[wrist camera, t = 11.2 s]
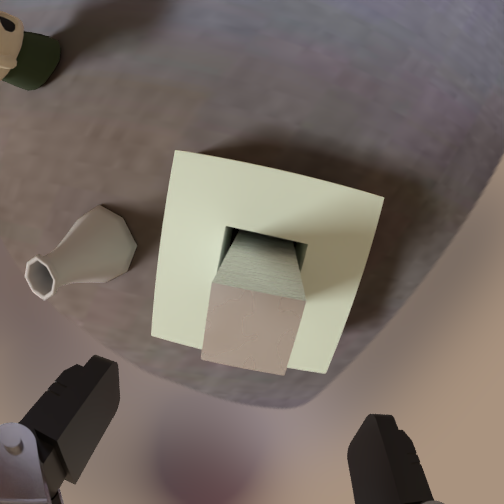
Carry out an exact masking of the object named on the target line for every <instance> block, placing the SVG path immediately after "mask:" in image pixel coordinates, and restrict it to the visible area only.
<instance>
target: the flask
mask: <svg viewBox="0 0 504 504" xmlns="http://www.w3.org/2000/svg"><path fill="white" fill-rule="evenodd" d="M136 247H137V245H136V243H135V241H134V239H133V237H132V235H131V233H130V231H129V229H128V227H127V225H126V223H125V221H124V219H123V218H122V217H120V216H119V215H117V214H115V213H113V212H111V211H110V210H108V209H106V208H104V207H102V206H101V205H98V206H96V207H95V208H93V209H92V210H90V211H89V212H87V213H86V214H85V215H83V216H82V217H80V218H79V219H78V220H77V221H76V223H75V224H74V225H73V227H72V228H71V229H70V231H69V232H68V234H67V235H66V236H65V237H64V239H63V240H62V241H61V242H60V244H59V245H58V246H57V248H56V249H55V250H53V251H52V252H51V253H49V254H47V255H45V256H42V255H40V254H38V255H36V256H35V257H33V258H32V259H31V260H30V261H28V262H27V265H26V272H25V278H26V280H27V282H28V284H29V286H30V288H31V290H32V292H33V293H35V294H36V295H37V296H39V297H40V298H41V299H43V300H46V299H48V298H50V297H51V296H53V295H55V294H56V293H57V289H58V287H60V286H63V285H67V284H70V283H83V282H100V283H103V282H108V281H110V280H112V279H114V278H116V277H118V276H120V275H122V274H124V273H126V272H127V271H128V268H129V266H130V263H131V260H132V258H133V255H134V252H135V250H136Z"/></svg>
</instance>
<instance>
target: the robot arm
mask: <svg viewBox="0 0 504 504" xmlns="http://www.w3.org/2000/svg"><path fill="white" fill-rule="evenodd" d="M119 401H120V390H119V372H118V364H117V362H114V361H111V360H109V359H106V358H103V357H100V356H97V355H94V356H93V357H91V359H90V360H89V361H88V362H87V363H86V364H85V366H84V367H83V366H80V365H78V364H76V365H74V366H72V367H70V368H69V369H67V370H64V371H63V372H62V373H61V375H60V376H59V377H58V378H57V379H56V380H55V383H53V384H52V385H51V386H50V387H49V388H48V391H46V392H45V393H44V394H43V395H42V396H41V397H40V399H39V400H38V401H37V402H36V403H35V405H34V406H33V407H32V408H31V409H30V410H29V412H28V413H27V414H26V415H25V417H24V418H23V419H22V420H21V421H20V422H19V423H5V424H2V425H0V504H64V503H63V499H62V495H61V492H60V489H59V488H60V486H61V484H62V482H63V481H64V479H65V480H67V481H69V482H71V483H73V484H76V482H77V481H78V479H79V477H80V475H81V473H82V471H83V470H84V468H85V466H86V464H87V463H88V460H89V459H90V457H91V455H92V454H93V452H94V450H95V448H96V446H97V445H98V443H99V441H100V439H101V438H102V436H103V434H104V432H105V431H106V429H107V427H108V425H109V424H110V422H111V420H112V418H113V417H114V415H115V413H116V411H117V409H118V405H119ZM347 459H348V465H349V471H350V476H351V481H352V488H353V493H354V499H355V504H444V503H442V502H439V501H434V499H433V497H432V494H431V491H430V488H429V485H428V482H427V480H426V477H425V474H424V471H423V468H422V466H421V464H420V460H419V458H418V455H416V450H415V447H414V445H413V442H412V440H411V439H410V438H409V437H408V436H407V434H406V433H405V432H404V431H403V430H398V427H397V425H396V422H395V419H394V417H393V416H392V415H381V414H369V415H368V416H367V417H366V419H365V421H364V422H363V424H362V425H361V427H360V429H359V430H358V432H357V433H356V435H355V436H354V438H353V440H352V441H351V443H350V445H349V448H348V453H347Z"/></svg>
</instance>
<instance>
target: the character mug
mask: <svg viewBox="0 0 504 504" xmlns="http://www.w3.org/2000/svg"><path fill="white" fill-rule="evenodd" d="M60 51H61V48H60V45H59V42H58V41H57V40H55V39H52V38H49V36H45V35H42V34H37V33H32V32H25V31H24V26H23V23H22V21H21V20H20V19H18V18H17V17H15V16H12V15H10V14H8V13H5V12H3V11H0V81H1V80H3V81H5V82H7V83H10V84H12V85H14V86H17V87H19V88H22V89H25V90H28V91H29V90H36V89H37V88H39V87H40V86H41V85H42V84H44V83H45V82H46V80H47V79H48V78H49V76H50V75H51V74H52V72H53V71H54V69H55V67H56V65H57V64H58V62H59V59H60Z"/></svg>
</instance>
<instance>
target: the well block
mask: <svg viewBox="0 0 504 504" xmlns="http://www.w3.org/2000/svg"><path fill="white" fill-rule="evenodd" d="M383 201H384V197H381V196H378V195H375V194H372V193H368V192H365V191H362V190H359V189H355V188H352V187H348V186H344V185H341V184H337V183H333V182H329V181H325V180H321V179H318V178H314V177H309V176H305V175H301V174H297V173H293V172H289V171H284V170H280V169H275V168H271V167H266V166H262V165H257V164H252V163H247V162H243V161H237V160H232V159H227V158H222V157H217V156H211V155H205V154H200V153H193V152H186V151H178V150H175V154H174V160H173V165H172V170H171V176H170V182H169V188H168V194H167V200H166V206H165V213H164V219H163V226H162V234H161V241H160V249H159V257H158V266H157V275H156V284H155V295H154V306H153V318H152V332H151V336H154V337H158V338H161V339H165V340H168V341H172V342H176V343H179V344H183V345H187V346H191V347H195V348H199V349H202V347H203V340H204V332H205V325H206V318H207V311H208V305H209V298H210V291H211V285H212V281H213V279H214V277H215V275H216V273H217V272H218V270H219V268H220V266H221V264H222V262H223V260H224V258H225V256H226V255H227V253H228V251H229V247H230V242H231V237H232V232H233V227H234V228H238V229H243V230H247V231H252V232H256V233H261V234H265V235H270V236H274V237H279V238H283V239H287V240H292V241H296V242H297V244H296V248H295V253H296V257H297V261H298V266H299V270H300V275H301V279H302V284H303V288H304V293H305V297H306V304H305V308H304V311H303V315H302V318H301V322H300V325H299V329H298V332H297V335H296V339H295V342H294V346H293V349H292V352H291V355H290V359H289V362H288V365H287V368H293V369H299V370H305V371H311V372H318V373H324V374H326V372H327V369H328V367H329V364H330V362H331V360H332V357H333V355H334V352H335V350H336V347H337V344H338V342H339V339H340V337H341V334H342V331H343V329H344V326H345V323H346V321H347V318H348V315H349V312H350V310H351V307H352V304H353V301H354V298H355V295H356V292H357V289H358V286H359V283H360V280H361V277H362V274H363V271H364V268H365V265H366V261H367V258H368V255H369V252H370V248H371V245H372V242H373V238H374V235H375V231H376V227H377V224H378V220H379V216H380V213H381V209H382V205H383Z"/></svg>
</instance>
